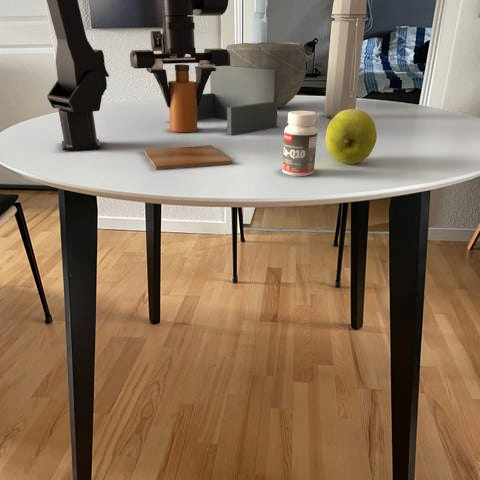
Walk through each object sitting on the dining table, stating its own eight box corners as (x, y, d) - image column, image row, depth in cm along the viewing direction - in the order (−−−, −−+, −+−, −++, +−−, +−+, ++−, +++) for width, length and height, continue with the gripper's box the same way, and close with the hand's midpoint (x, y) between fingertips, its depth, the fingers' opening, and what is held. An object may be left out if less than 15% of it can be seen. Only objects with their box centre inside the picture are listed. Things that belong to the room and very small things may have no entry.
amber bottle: (200, 131, 101) (199, 65, 95) (173, 132, 100) (170, 65, 94) (193, 127, 106) (192, 64, 100) (167, 128, 104) (165, 63, 98)
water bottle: (317, 115, 120) (326, -9, 107) (345, 113, 122) (358, -8, 110) (336, 121, 113) (349, -11, 100) (366, 119, 115) (382, -11, 102)
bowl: (296, 101, 140) (300, 40, 133) (310, 113, 122) (315, 43, 114) (222, 102, 139) (221, 40, 131) (225, 114, 121) (224, 43, 113)
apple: (323, 169, 76) (328, 113, 72) (323, 155, 84) (327, 104, 80) (375, 171, 75) (383, 114, 71) (370, 157, 83) (377, 105, 79)
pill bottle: (276, 173, 74) (279, 113, 70) (291, 166, 77) (295, 109, 73) (304, 178, 72) (309, 116, 67) (319, 171, 75) (324, 112, 71)
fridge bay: (231, 135, 99) (231, 73, 93) (170, 121, 112) (166, 66, 106) (276, 127, 107) (279, 69, 101) (215, 115, 119) (213, 64, 114)
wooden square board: (231, 163, 79) (231, 160, 79) (156, 169, 76) (155, 166, 75) (211, 148, 89) (211, 145, 88) (144, 152, 85) (143, 149, 85)
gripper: (214, 16, 101) (216, 99, 110) (122, 16, 97) (131, 103, 105) (230, 16, 92) (231, 106, 101) (129, 16, 88) (139, 111, 96)
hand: (183, 106), depth 101 cm, fingers closed on amber bottle, 6 cm apart
